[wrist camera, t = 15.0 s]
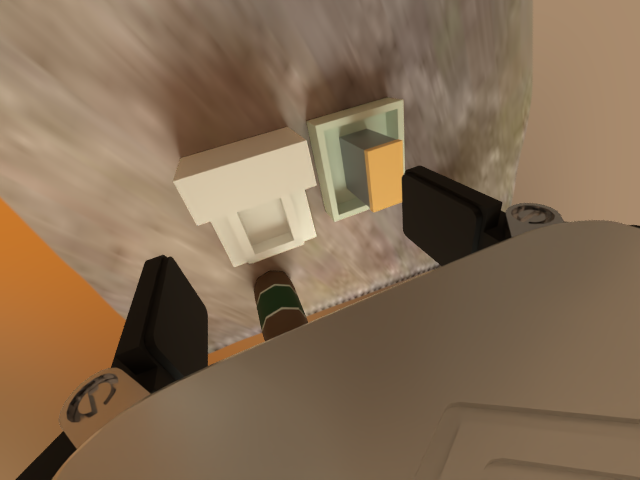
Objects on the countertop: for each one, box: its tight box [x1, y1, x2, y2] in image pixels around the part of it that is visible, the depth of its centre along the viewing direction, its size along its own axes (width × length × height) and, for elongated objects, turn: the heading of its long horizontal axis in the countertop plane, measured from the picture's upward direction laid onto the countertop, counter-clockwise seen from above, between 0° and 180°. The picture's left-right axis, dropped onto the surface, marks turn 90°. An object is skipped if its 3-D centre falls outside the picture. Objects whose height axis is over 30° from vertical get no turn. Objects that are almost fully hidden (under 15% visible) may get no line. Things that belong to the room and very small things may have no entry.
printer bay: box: [173, 127, 316, 267], centre depth 42 cm, size 20×16×10 cm
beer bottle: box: [254, 271, 308, 341], centre depth 46 cm, size 8×8×24 cm
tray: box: [306, 97, 405, 222], centre depth 46 cm, size 16×14×4 cm
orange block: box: [339, 129, 403, 212], centre depth 43 cm, size 9×5×10 cm, turn 12°
